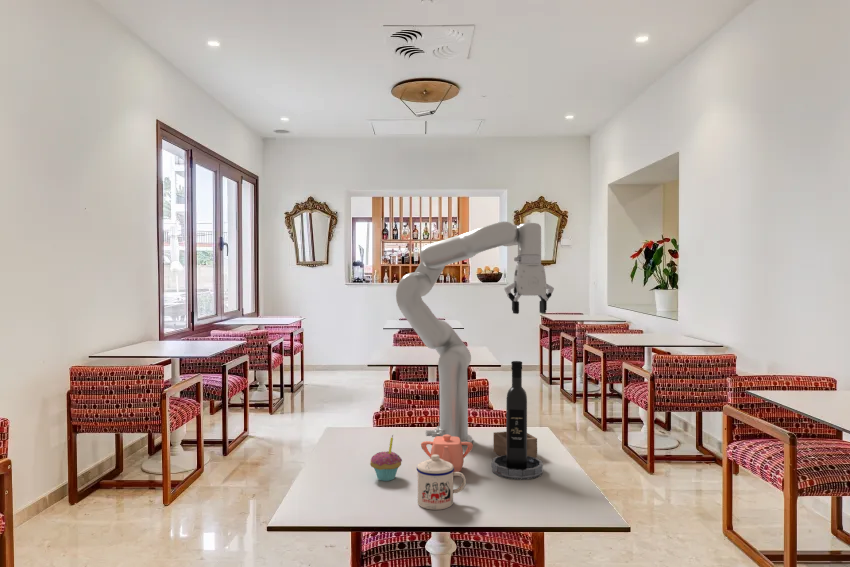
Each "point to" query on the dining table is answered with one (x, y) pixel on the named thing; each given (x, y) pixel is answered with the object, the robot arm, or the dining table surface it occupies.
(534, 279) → the robot arm
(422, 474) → the teacup with lid
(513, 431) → the wine bottle
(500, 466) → the serving bowl
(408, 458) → the dining table surface
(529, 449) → the open square wooden box
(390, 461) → the cupcake
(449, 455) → the teapot
